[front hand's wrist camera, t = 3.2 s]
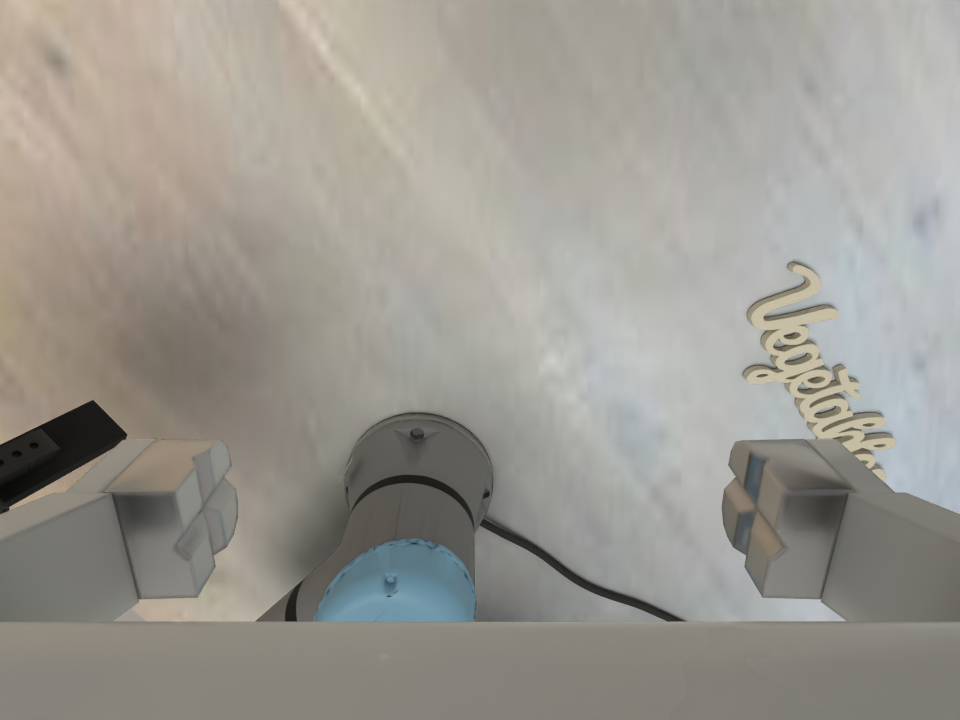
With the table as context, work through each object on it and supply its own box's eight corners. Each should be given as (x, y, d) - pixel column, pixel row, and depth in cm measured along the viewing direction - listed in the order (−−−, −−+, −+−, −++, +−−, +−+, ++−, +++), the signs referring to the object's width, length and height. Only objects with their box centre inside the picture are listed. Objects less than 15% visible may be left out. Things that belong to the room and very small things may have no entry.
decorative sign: (710, 317, 58) (810, 256, 56) (706, 313, 59) (805, 254, 57) (823, 512, 66) (915, 465, 64) (819, 506, 67) (909, 460, 65)
